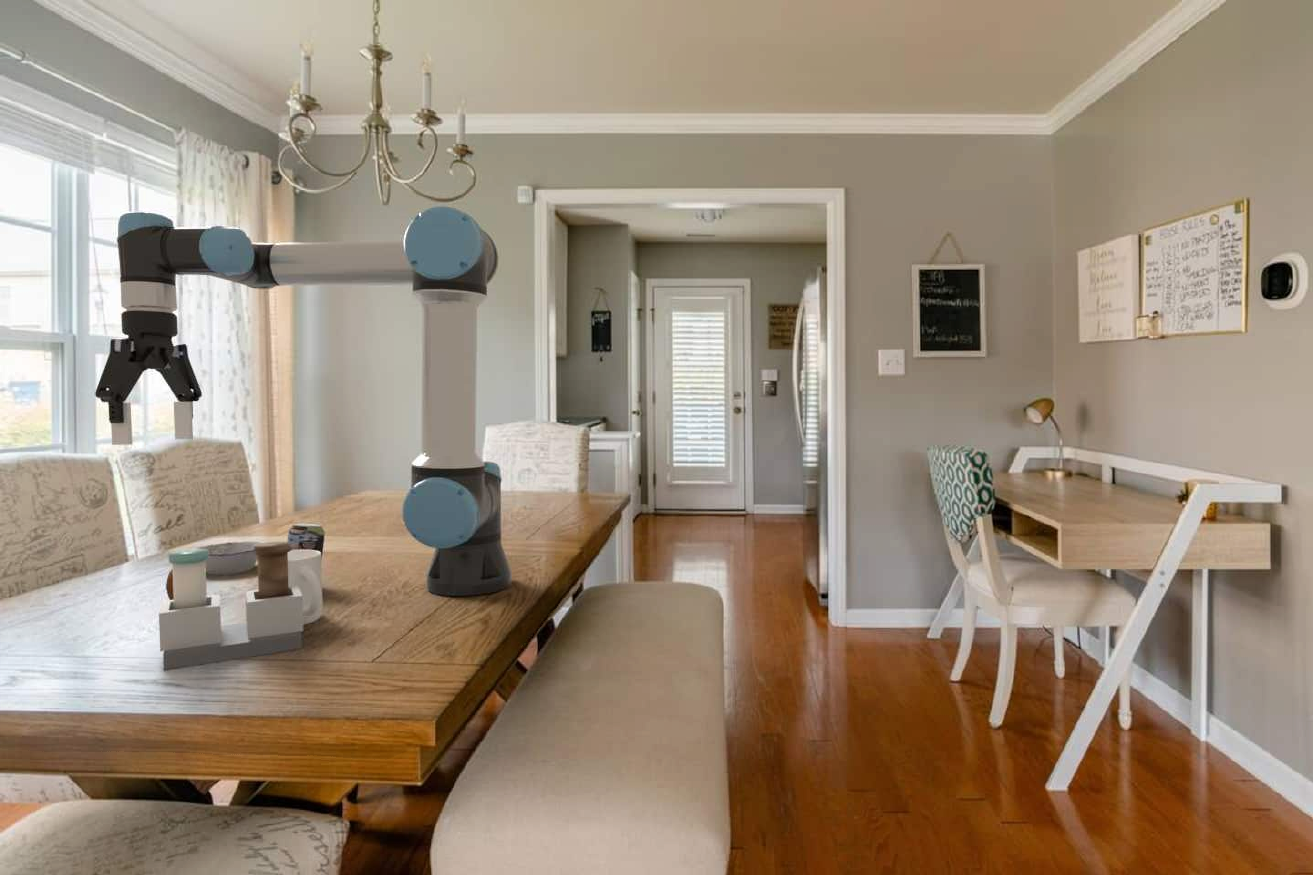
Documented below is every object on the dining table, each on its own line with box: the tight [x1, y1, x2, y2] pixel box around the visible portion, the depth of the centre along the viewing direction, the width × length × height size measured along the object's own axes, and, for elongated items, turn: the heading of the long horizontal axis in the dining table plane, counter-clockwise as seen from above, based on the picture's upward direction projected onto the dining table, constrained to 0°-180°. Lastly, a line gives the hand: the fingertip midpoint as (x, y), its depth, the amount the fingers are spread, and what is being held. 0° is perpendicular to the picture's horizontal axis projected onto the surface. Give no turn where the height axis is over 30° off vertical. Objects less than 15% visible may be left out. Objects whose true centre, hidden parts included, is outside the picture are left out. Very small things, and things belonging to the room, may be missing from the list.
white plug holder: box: [158, 585, 304, 671], centre depth 103 cm, size 17×10×7 cm, turn 121°
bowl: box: [195, 541, 262, 576], centre depth 150 cm, size 13×13×5 cm
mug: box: [288, 550, 323, 626], centre depth 115 cm, size 12×8×10 cm
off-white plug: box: [167, 548, 209, 610], centre depth 100 cm, size 5×5×8 cm
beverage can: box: [286, 522, 326, 562], centre depth 135 cm, size 6×7×12 cm
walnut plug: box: [254, 541, 291, 599], centre depth 106 cm, size 5×5×8 cm
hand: (154, 442), depth 122 cm, fingers open, 13 cm apart
